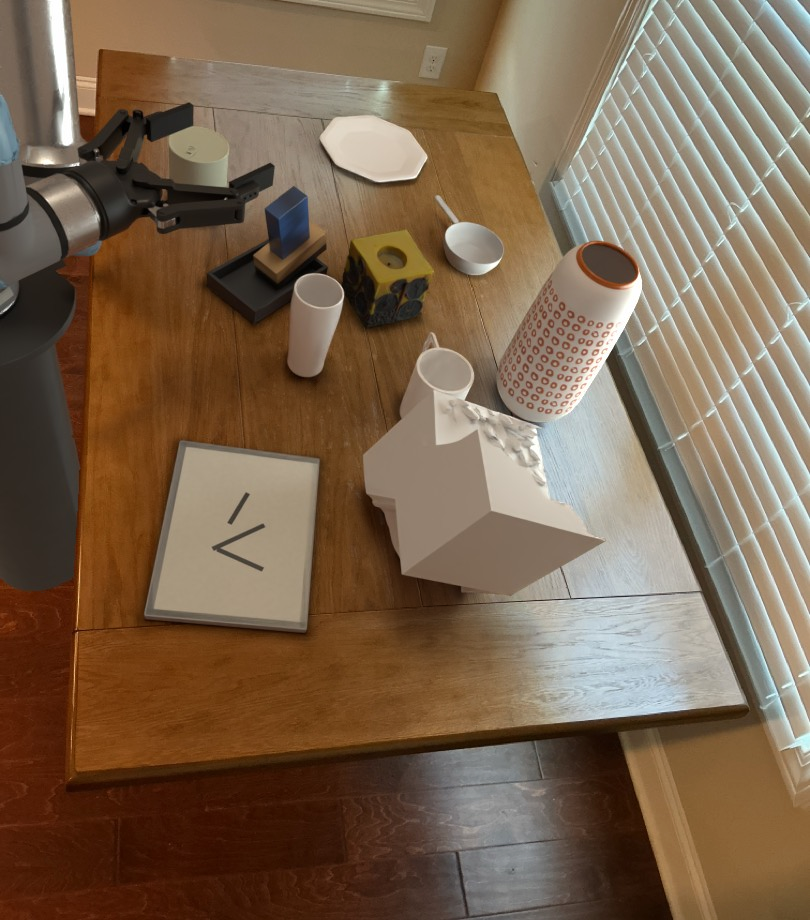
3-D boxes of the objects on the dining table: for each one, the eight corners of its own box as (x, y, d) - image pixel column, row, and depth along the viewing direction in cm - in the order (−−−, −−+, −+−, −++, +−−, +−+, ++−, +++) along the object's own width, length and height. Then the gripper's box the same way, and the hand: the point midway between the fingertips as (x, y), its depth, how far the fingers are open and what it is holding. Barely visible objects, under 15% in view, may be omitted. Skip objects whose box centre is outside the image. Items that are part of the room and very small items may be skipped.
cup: (439, 372, 116) (457, 327, 108) (459, 435, 110) (481, 392, 102) (388, 373, 113) (404, 327, 105) (406, 438, 107) (424, 394, 99)
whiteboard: (143, 619, 84) (143, 615, 83) (180, 444, 98) (180, 439, 97) (305, 633, 88) (306, 629, 87) (318, 462, 102) (319, 458, 101)
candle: (392, 275, 126) (406, 227, 118) (421, 317, 122) (437, 271, 114) (338, 285, 122) (349, 236, 114) (365, 330, 117) (379, 282, 109)
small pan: (461, 285, 129) (468, 268, 126) (406, 217, 136) (412, 200, 133) (508, 272, 134) (516, 255, 131) (454, 207, 141) (460, 190, 138)
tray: (253, 324, 113) (255, 311, 111) (206, 285, 115) (206, 272, 113) (326, 278, 122) (328, 266, 120) (280, 243, 124) (282, 231, 122)
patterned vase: (475, 371, 118) (543, 228, 96) (547, 363, 123) (628, 225, 100) (507, 440, 112) (589, 303, 89) (582, 428, 117) (677, 296, 94)
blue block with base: (278, 290, 117) (271, 233, 105) (255, 271, 118) (245, 213, 106) (326, 249, 121) (325, 190, 109) (304, 232, 122) (300, 171, 110)
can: (158, 210, 121) (155, 144, 112) (185, 180, 127) (185, 115, 117) (210, 232, 122) (213, 167, 112) (235, 201, 127) (240, 138, 117)
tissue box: (349, 460, 100) (463, 348, 83) (446, 487, 108) (567, 390, 91) (357, 604, 89) (490, 510, 72) (464, 622, 97) (606, 541, 80)
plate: (343, 110, 150) (344, 103, 149) (434, 148, 150) (436, 141, 149) (305, 159, 138) (306, 152, 137) (404, 200, 138) (406, 193, 137)
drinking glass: (289, 386, 108) (302, 311, 96) (276, 350, 111) (287, 274, 99) (333, 379, 110) (352, 306, 98) (319, 345, 113) (335, 270, 101)
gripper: (9, 174, 84) (160, 117, 96) (163, 302, 79) (302, 226, 91) (-4, 112, 78) (158, 60, 90) (162, 247, 73) (310, 172, 85)
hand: (231, 143), depth 90 cm, fingers open, 13 cm apart
